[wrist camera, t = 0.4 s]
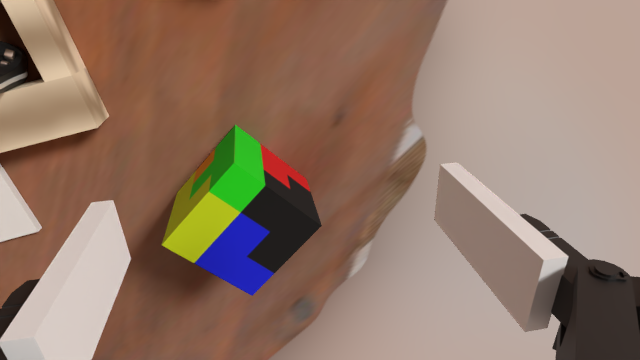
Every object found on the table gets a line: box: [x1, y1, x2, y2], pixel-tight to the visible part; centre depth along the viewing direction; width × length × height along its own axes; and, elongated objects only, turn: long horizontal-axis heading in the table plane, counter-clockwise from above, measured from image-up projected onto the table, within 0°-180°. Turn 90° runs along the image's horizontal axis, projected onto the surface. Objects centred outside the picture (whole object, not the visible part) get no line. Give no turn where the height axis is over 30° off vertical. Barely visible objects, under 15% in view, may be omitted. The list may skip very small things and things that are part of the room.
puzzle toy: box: [162, 125, 322, 295], centre depth 41 cm, size 10×10×10 cm
